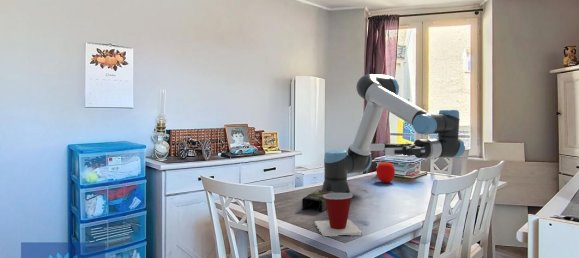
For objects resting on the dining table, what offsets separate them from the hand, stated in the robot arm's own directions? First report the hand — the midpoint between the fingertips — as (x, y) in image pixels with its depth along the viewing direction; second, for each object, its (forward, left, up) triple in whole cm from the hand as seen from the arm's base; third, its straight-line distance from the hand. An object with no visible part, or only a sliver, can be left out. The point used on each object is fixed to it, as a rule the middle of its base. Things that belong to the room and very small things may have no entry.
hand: (377, 149), depth 134 cm
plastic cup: (+6, -17, -28) cm, 33 cm away
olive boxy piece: (-26, -17, -29) cm, 42 cm away
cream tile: (+5, -17, -29) cm, 34 cm away
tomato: (-73, +35, -29) cm, 86 cm away
